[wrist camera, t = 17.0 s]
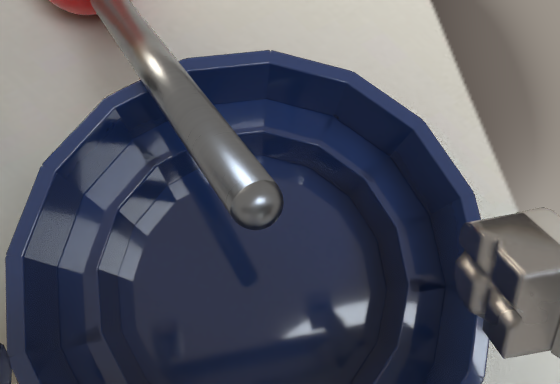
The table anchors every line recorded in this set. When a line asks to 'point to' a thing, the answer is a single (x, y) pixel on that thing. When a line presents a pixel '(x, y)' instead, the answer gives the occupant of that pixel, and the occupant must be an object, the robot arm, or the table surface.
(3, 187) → the table surface
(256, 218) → the baster
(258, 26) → the table surface
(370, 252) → the bowl
